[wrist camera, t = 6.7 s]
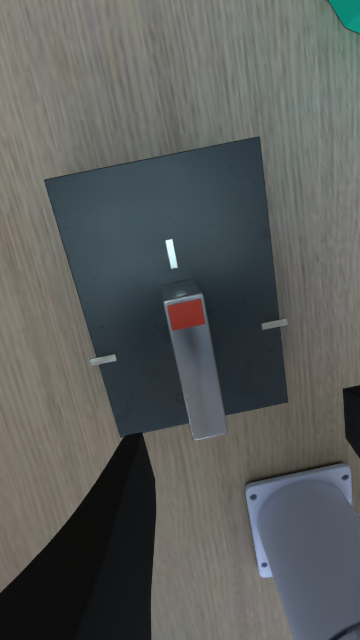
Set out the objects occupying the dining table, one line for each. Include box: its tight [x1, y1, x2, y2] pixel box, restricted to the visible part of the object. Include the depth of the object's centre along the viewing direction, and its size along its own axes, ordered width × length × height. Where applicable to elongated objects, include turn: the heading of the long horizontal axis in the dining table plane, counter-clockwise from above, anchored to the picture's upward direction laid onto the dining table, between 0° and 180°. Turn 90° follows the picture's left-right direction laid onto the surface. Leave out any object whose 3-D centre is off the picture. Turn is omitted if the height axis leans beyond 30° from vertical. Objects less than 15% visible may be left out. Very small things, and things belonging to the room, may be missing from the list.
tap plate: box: [44, 137, 288, 438], centre depth 17 cm, size 14×11×3 cm
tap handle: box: [162, 279, 228, 440], centre depth 14 cm, size 6×2×4 cm, turn 11°
